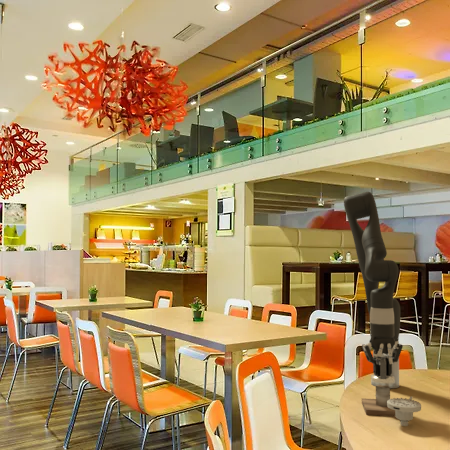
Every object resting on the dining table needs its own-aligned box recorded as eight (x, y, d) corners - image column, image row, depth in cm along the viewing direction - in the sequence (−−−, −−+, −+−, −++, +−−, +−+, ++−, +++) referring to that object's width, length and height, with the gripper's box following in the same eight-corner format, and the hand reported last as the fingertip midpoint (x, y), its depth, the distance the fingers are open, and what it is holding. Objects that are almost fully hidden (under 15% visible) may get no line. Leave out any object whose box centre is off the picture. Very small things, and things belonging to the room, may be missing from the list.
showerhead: (427, 399, 148) (412, 406, 141) (428, 424, 147) (412, 432, 140) (397, 392, 154) (381, 399, 147) (397, 417, 154) (381, 424, 147)
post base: (361, 402, 169) (361, 380, 169) (398, 404, 167) (398, 381, 167) (366, 414, 156) (366, 390, 156) (406, 416, 154) (406, 391, 155)
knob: (371, 386, 159) (371, 360, 160) (370, 380, 168) (370, 355, 168) (395, 388, 158) (395, 361, 158) (393, 382, 166) (393, 356, 166)
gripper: (367, 323, 158) (368, 379, 157) (408, 322, 161) (408, 377, 160) (356, 320, 166) (357, 374, 165) (395, 319, 169) (396, 372, 168)
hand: (382, 375), depth 163 cm, fingers closed on knob, 3 cm apart
